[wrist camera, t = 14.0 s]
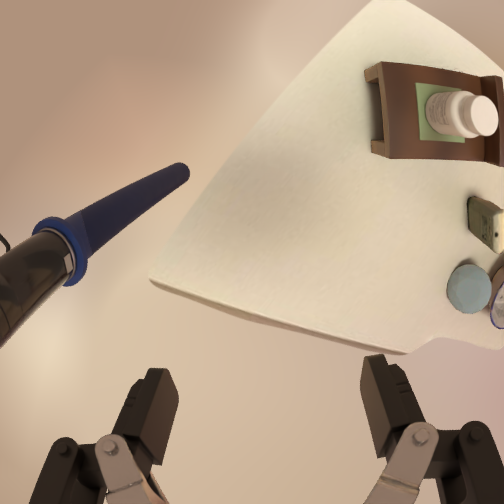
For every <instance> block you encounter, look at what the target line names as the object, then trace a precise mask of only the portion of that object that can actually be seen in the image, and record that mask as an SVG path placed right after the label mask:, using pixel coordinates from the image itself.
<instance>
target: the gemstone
mask: <svg viewBox="0 0 504 504" xmlns="http://www.w3.org/2000/svg"><path fill="white" fill-rule="evenodd" d="M491 290H492V285H491V282H490V279H489V276H488V275H487V273H486V272H485V271H484V270H483V269H482V268H480V267H478V266H476V265H466V264H465V265H463V266H461V267H459V268H457V269H456V270H455V271H454V272H453V273H452V274H451V276H450V279H449V281H448V286H447V294H448V297H449V300H450V302H451V304H452V305H453V306H454V307H455V308H456V309H457V310H459V311H461V312H462V313H467V314H473V313H476V312H479V311H481V310H482V309H483V308H484V307H485V306H486V305H487V304H488V301H489V299H490V297H491Z"/></svg>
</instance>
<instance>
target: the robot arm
mask: <svg viewBox="0 0 504 504" xmlns="http://www.w3.org/2000/svg"><path fill="white" fill-rule="evenodd" d="M0 241H1V242H2V243H3V244H4V245H5V247H6V253H5V254H4V255H2V256H1V257H0V349H1V348H2V347H3V346H4V345H5V343H6V342H7V341H8V340H9V339H10V338H11V337H12V336H13V335H14V333H15V332H16V331H17V330H18V329H19V328H20V327H21V326H22V325H23V324H24V323H25V322H26V321H27V320H28V319H29V318H30V316H32V315H33V314H34V312H35V311H36V310H38V308H40V306H42V304H43V303H44V302H46V301H47V300H48V299H49V298H50V297H51V296H52V295H53V294H54V293H55V292H56V291H57V290H58V289H59V288H60V287H61V286H62V285H63V284H64V283H65V282H67V281H68V280H70V279H71V278H72V277H73V276H74V274H75V273H76V270H77V256H76V252H75V249H74V247H73V245H72V243H71V241H70V240H69V239H68V237H67V236H66V235H65V234H64V233H63V232H61V231H60V230H58V229H57V228H54V227H45V228H43V229H41V230H40V231H38V232H37V233H36V234H35V235H33V236H31V237H30V238H28V239H26V240H25V241H23V242H22V243H20V244H19V245H17V246H16V247H14V248H13V249H11V250H10V245H9V243H8V242H7V240H6V239H5V238H4V237H3V236H2V235H1V234H0ZM360 391H361V396H362V400H363V404H364V407H365V411H366V415H367V419H368V422H369V426H370V430H371V434H372V438H373V442H374V446H375V450H376V454H377V458H381V457H386V461H387V465H386V467H385V469H384V470H383V472H382V474H381V476H380V478H379V480H378V481H377V483H376V484H375V486H374V488H373V489H372V491H371V492H370V494H369V496H368V497H367V499H366V500H365V502H364V503H363V504H414V502H415V501H416V498H417V496H418V494H419V487H420V484H421V482H422V480H423V479H431V478H435V479H436V483H437V488H438V492H439V497H440V502H441V504H504V466H503V464H502V461H501V458H500V455H499V452H498V450H497V447H496V444H495V442H494V440H493V437H492V435H491V432H490V430H489V428H488V427H487V426H486V425H485V424H484V423H482V422H480V421H471V422H468V423H466V424H465V425H464V426H463V427H462V428H461V430H438V429H436V428H435V427H434V426H433V425H431V424H429V423H427V422H426V421H425V419H424V416H423V414H422V412H421V409H420V407H419V405H418V402H417V400H416V397H415V395H414V392H413V391H412V388H411V385H410V384H409V381H408V379H407V377H406V374H405V372H404V371H403V370H402V369H401V368H400V367H399V366H398V365H397V364H392V365H388V363H387V361H386V358H385V356H384V355H383V354H378V355H371V356H365V357H364V362H363V368H362V374H361V380H360ZM178 403H179V396H178V391H177V389H176V387H175V384H174V382H173V380H172V377H171V375H170V372H169V370H168V369H165V368H149V369H148V371H147V374H146V376H145V378H144V379H139V380H138V381H137V382H136V383H135V384H134V385H133V386H132V387H131V389H130V391H129V393H128V396H127V398H126V400H125V402H124V406H123V407H122V409H121V412H120V414H119V416H118V419H117V421H116V423H115V426H114V428H113V431H112V433H111V434H109V435H105V436H103V437H102V438H100V439H99V441H98V442H97V443H95V444H82V445H78V444H77V443H76V442H75V441H74V440H73V439H72V438H69V437H63V438H60V439H58V440H57V441H55V442H54V443H53V445H52V447H51V449H50V451H49V454H48V456H47V458H46V461H45V463H44V466H43V468H42V470H41V473H40V475H39V478H38V481H37V483H36V486H35V488H34V491H33V494H32V496H31V499H30V502H29V504H103V502H104V498H105V495H106V500H107V502H108V504H169V502H168V501H167V499H166V497H165V496H164V494H163V492H162V490H161V489H160V487H159V485H158V483H157V481H156V480H155V478H154V476H153V474H152V473H151V467H152V464H155V465H162V462H163V458H164V454H165V451H166V447H167V443H168V439H169V435H170V432H171V429H172V425H173V421H174V418H175V414H176V411H177V407H178ZM107 488H108V493H106V491H107Z"/></svg>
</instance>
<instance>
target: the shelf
mask: <svg viewBox="0 0 504 504" xmlns="http://www.w3.org/2000/svg"><path fill="white" fill-rule="evenodd" d="M364 72H365V80H366V82H370V83H379V87H380V96H381V105H382V117H383V130H384V140H371V146H372V153H375V154H378V155H381V156H384V157H386V158H389V159H442V160H465V161H481V162H487V163H490V164H493V165H496V166H499V167H504V90H503V82H502V77H499V76H495V75H494V76H484V77H478V76H474V75H470V74H465V73H461V72H456V71H451V70H445V69H439V68H433V67H427V66H420V65H412V64H404V63H394V62H382V61H381V62H379V63H377V64H376V65H374V66H372V67H370V68H368V69H366V70H365V71H364ZM453 91H468V92H471V93H472V94H474V95H475V96H485V97H487V98H489V99H490V100H491V101H492V102H493V104H494V105H495V107H496V110H497V113H498V126H497V129H496V131H495V132H494V133H493V134H492V135H490V136H483V135H479V136H477V137H475V138H465V137H459V136H453V135H445V134H441V133H438V132H437V131H435V130H434V129H433V128H432V127H431V125H430V124H429V122H428V120H427V117H426V110H425V109H426V104H427V101H428V99H429V98H430V97H431V96H432V95H434V94H436V93H444V92H453Z"/></svg>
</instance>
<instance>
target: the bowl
mask: <svg viewBox="0 0 504 504" xmlns="http://www.w3.org/2000/svg"><path fill="white" fill-rule="evenodd" d="M491 285H492V290H491V297H490V299H489V304H490V305H489V306H490V318H491V321H492V324H493V325H494V326H495V327H497V328H498V329H504V265H503V266H502V267H501V268H500V269H499V270H498V271H497V273H496V274H495V276H494V277H493V279H492V282H491Z"/></svg>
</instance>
